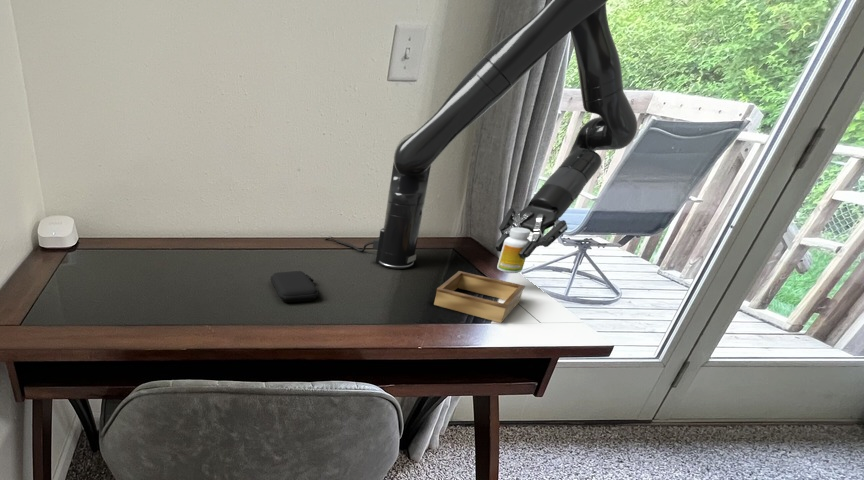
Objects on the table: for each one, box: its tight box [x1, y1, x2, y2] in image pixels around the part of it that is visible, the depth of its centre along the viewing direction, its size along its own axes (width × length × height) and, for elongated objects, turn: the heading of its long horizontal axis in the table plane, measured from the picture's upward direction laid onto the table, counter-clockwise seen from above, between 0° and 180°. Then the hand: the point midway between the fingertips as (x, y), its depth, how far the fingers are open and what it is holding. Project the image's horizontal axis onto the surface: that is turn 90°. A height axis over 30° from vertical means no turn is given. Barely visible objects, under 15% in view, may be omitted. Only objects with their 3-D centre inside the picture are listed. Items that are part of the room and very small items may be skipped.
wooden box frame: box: [433, 270, 526, 324], centre depth 110 cm, size 15×14×4 cm
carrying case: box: [270, 270, 319, 303], centre depth 119 cm, size 11×3×15 cm
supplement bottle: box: [496, 227, 531, 274], centre depth 112 cm, size 5×5×10 cm
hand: (509, 253), depth 112 cm, fingers closed on supplement bottle, 5 cm apart
